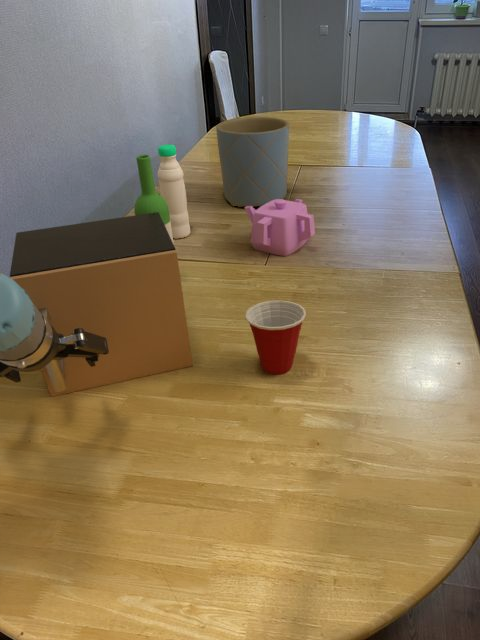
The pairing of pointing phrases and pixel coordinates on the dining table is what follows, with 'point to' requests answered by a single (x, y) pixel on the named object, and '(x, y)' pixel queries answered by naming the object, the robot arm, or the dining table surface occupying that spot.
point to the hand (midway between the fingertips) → (54, 366)
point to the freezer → (89, 243)
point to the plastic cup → (276, 333)
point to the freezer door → (114, 318)
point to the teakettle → (280, 226)
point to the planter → (253, 159)
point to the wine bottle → (150, 194)
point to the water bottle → (173, 191)
